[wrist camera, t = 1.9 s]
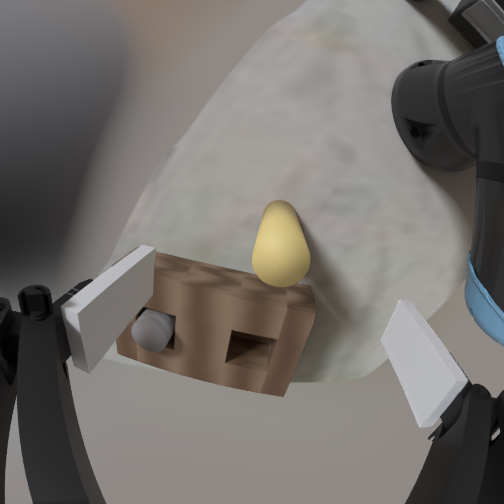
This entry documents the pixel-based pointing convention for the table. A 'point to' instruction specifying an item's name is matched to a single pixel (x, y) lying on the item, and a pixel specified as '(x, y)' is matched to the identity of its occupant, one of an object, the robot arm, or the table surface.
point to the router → (479, 20)
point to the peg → (280, 247)
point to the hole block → (220, 326)
